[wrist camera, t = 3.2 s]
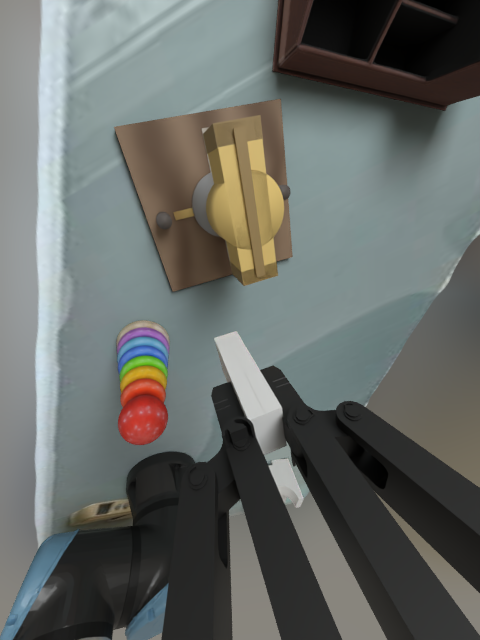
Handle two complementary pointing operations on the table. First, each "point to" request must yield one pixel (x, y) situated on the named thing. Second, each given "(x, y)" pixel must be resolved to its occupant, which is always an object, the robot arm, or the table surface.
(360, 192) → the table surface
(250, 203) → the yellow block with ball
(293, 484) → the white mounting bracket
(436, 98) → the desk organizer
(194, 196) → the base
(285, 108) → the table surface
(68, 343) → the table surface
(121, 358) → the stacking toy
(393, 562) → the robot arm
